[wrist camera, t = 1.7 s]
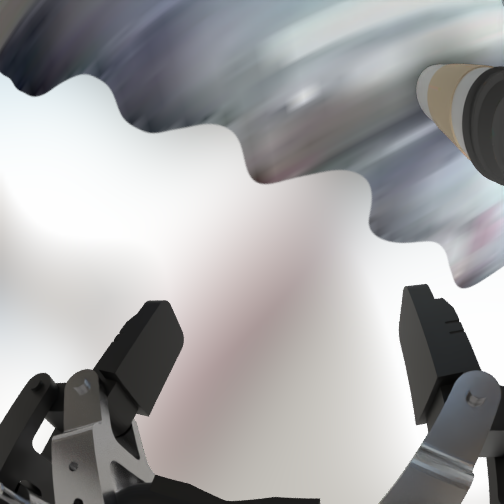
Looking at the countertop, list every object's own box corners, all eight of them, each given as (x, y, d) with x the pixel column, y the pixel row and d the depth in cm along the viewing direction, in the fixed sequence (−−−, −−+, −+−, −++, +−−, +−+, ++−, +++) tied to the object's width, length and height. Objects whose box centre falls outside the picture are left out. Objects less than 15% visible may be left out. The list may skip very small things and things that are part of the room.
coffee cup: (430, 146, 27) (498, 219, 15) (390, 76, 23) (458, 103, 12) (486, 113, 22) (571, 168, 10) (451, 42, 18) (543, 55, 7)
